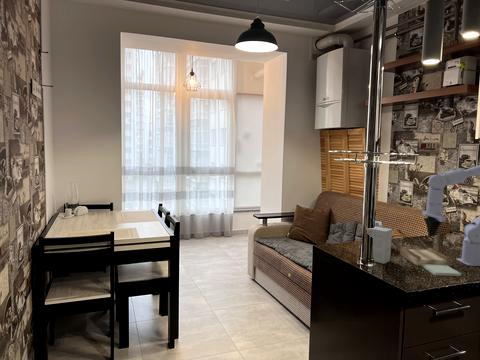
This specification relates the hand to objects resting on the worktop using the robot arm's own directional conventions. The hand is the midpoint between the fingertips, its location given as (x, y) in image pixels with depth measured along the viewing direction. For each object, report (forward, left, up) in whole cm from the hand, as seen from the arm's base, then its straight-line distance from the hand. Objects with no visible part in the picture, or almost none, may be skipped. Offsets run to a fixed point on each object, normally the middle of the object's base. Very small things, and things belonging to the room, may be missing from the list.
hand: (431, 235), depth 151 cm
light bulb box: (+18, -16, -10) cm, 26 cm away
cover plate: (+5, +17, -10) cm, 21 cm away
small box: (+25, +7, -10) cm, 28 cm away
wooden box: (+5, +5, -9) cm, 12 cm away
